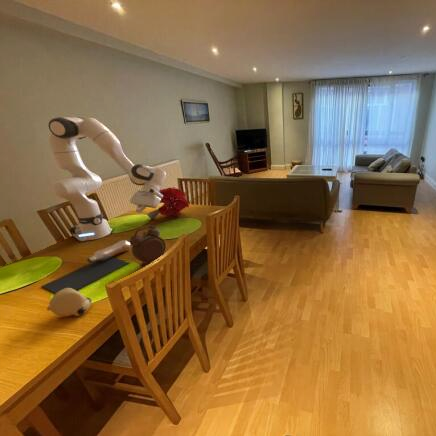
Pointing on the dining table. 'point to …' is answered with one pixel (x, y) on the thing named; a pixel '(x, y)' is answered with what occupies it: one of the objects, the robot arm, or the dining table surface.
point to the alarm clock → (147, 245)
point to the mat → (85, 275)
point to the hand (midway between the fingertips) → (138, 212)
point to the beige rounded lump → (69, 303)
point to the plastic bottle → (109, 252)
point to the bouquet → (170, 203)
